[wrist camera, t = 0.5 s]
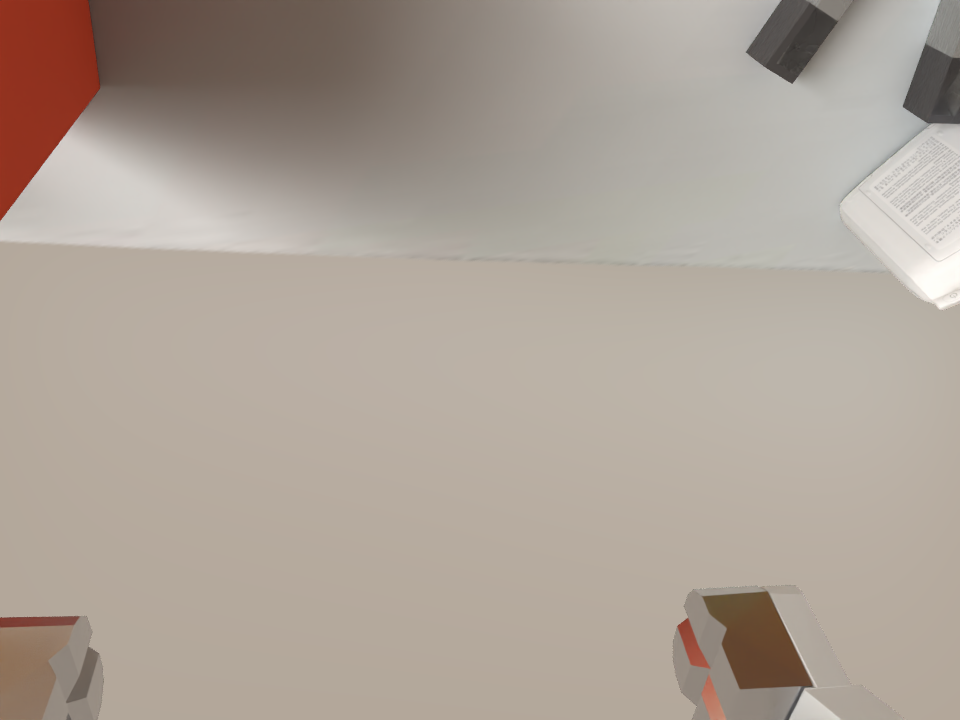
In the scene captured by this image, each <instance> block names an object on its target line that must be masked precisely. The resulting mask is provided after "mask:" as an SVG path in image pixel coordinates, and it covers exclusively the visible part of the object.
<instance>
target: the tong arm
mask: <svg viewBox="0 0 960 720" xmlns="http://www.w3.org/2000/svg"><path fill="white" fill-rule="evenodd" d="M852 2H853V0H782V1H781V2H780V4H779V5H778V6H777V8H776V9H775V11H774V12H773V14H772V15H771V17H770V18H769V20H768V21H767V22H766V24H765V25H764V27H763V28H762V30H761V31H760V33H759V34H758V36H757V37H756V38H755V40H754V41H753V43H752V44H751V46H750V47H749V49H748V50H747V51H746V53H748V54H749V55H750V56H751V57H753V58H754V59H755V60H757V61H758V62H759V63H760V64H762V65H763V66H764V67H766V68H767V69H769V70H770V71H772V72H774V73H775V74H777V75H779V76H780V77H782V78H783V79H785V80H787V81H788V82H790V83H792V84H793V82H794V81H795V80H796V78H797V77H798V76H799V74H800V73H801V71H802V70H803V69H804V67H805V66H806V65H807V63H808V62H809V60H810V59H811V58H812V56H813V55H814V54H815V52H816V51H817V50H818V48H819V47H820V45H821V44H822V43H823V41H824V40H825V39H826V37H827V36H828V34H829V33H830V32H831V30H832V29H833V28H834V26H835V25H836V24H837V22H838V21H839V19H840V18H841V17H842V15H843V14H844V13H845V11H846V10H847V8H848V7H849V6H850V4H851V3H852Z"/></svg>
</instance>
